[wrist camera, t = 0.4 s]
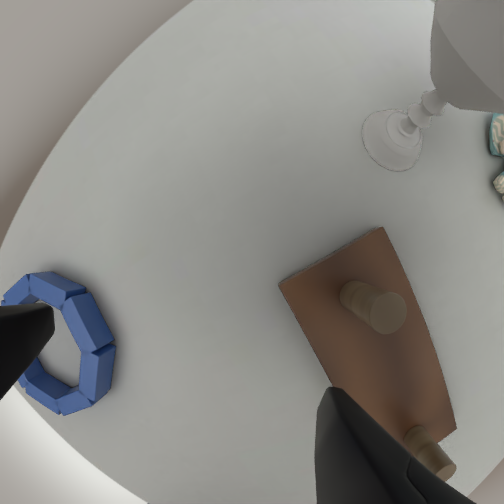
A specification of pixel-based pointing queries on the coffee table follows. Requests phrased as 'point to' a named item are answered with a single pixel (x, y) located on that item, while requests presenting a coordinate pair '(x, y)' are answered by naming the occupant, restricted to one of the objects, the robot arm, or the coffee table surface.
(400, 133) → the chalice
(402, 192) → the coffee table surface
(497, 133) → the stuffed animal
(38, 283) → the ring
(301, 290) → the rack
